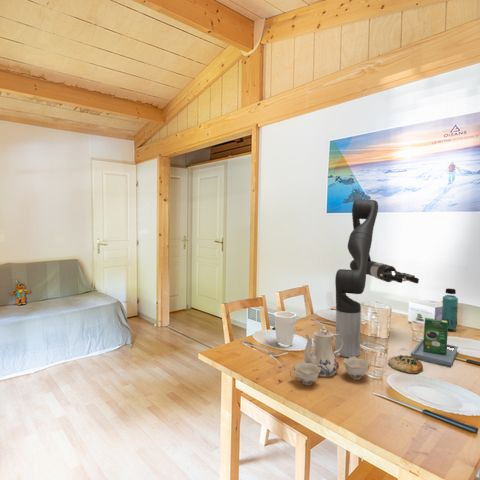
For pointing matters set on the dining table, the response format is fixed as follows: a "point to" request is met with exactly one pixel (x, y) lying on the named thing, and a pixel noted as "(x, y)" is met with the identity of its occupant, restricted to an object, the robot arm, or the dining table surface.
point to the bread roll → (406, 364)
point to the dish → (435, 355)
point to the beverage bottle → (450, 309)
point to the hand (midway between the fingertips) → (410, 280)
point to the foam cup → (285, 327)
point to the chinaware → (326, 360)
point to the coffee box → (435, 336)
